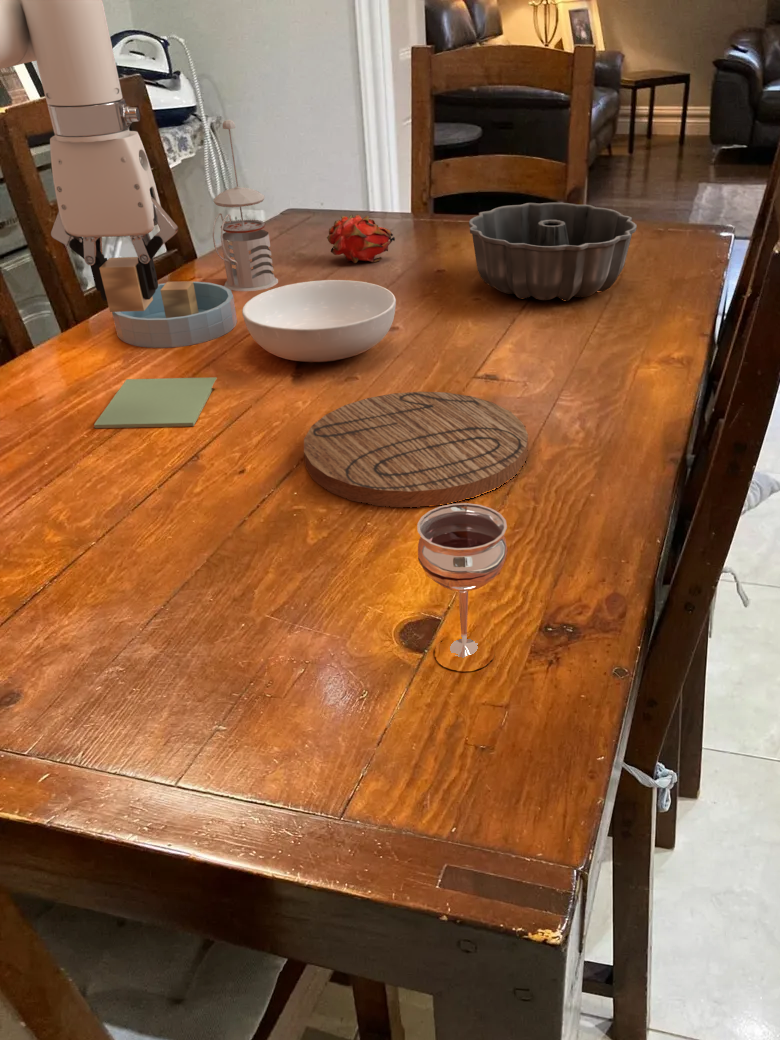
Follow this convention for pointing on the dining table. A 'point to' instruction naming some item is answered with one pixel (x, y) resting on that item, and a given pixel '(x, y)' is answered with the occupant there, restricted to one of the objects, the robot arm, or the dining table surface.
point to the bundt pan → (551, 249)
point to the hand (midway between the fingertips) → (129, 294)
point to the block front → (123, 285)
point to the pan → (179, 320)
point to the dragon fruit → (359, 238)
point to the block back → (179, 299)
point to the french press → (244, 240)
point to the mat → (157, 403)
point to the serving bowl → (320, 319)
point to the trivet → (415, 449)
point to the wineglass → (462, 554)
